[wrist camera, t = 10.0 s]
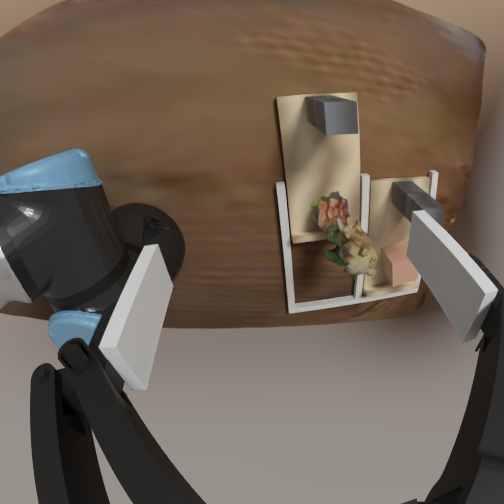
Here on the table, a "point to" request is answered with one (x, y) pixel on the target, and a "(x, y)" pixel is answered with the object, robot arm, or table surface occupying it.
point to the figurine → (344, 236)
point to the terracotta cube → (398, 263)
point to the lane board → (358, 295)
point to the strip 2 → (395, 222)
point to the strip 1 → (319, 156)
